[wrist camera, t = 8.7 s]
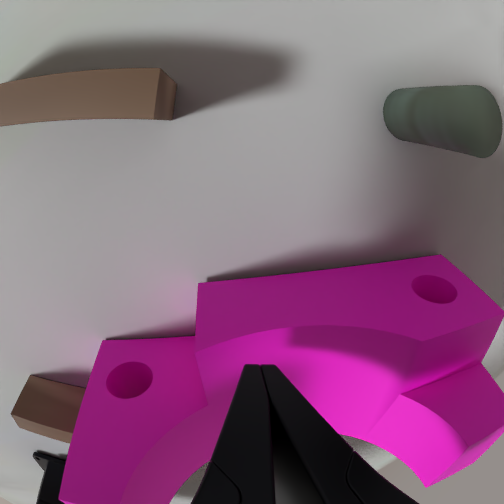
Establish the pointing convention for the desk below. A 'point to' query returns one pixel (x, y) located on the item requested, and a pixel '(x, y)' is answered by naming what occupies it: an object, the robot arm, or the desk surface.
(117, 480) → the magenta curved bracket
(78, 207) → the desk surface
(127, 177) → the desk surface
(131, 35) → the desk surface
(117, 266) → the desk surface
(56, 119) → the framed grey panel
